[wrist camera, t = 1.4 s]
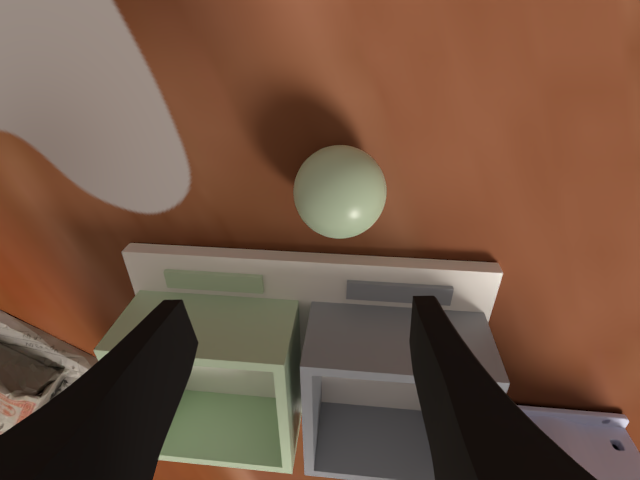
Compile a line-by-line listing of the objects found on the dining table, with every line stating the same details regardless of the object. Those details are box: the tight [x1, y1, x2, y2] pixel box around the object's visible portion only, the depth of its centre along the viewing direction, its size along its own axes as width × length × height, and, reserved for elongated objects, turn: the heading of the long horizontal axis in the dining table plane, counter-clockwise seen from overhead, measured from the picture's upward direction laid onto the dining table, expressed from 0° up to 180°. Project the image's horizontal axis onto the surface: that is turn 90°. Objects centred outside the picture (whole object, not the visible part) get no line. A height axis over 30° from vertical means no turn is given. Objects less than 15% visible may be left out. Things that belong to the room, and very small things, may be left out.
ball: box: [293, 145, 387, 239], centre depth 19 cm, size 4×4×4 cm
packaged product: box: [0, 310, 98, 435], centre depth 32 cm, size 18×5×10 cm
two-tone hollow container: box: [94, 243, 510, 480], centre depth 25 cm, size 22×14×6 cm, turn 90°
